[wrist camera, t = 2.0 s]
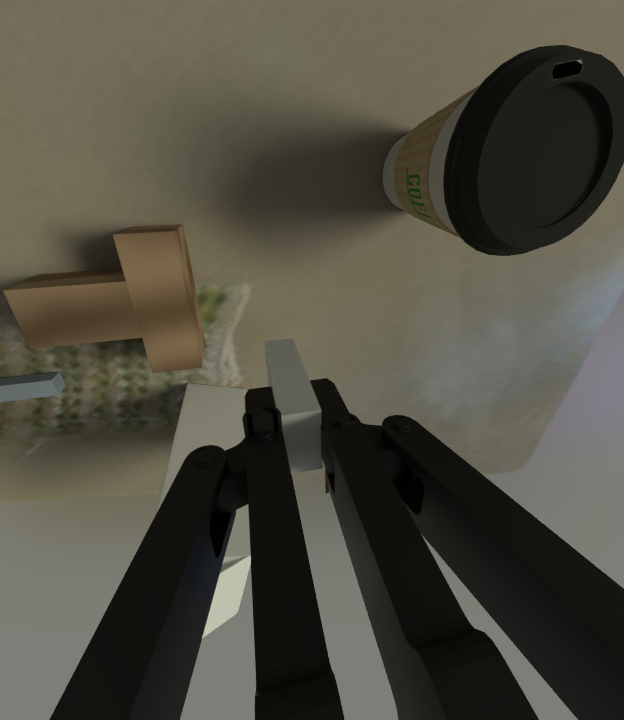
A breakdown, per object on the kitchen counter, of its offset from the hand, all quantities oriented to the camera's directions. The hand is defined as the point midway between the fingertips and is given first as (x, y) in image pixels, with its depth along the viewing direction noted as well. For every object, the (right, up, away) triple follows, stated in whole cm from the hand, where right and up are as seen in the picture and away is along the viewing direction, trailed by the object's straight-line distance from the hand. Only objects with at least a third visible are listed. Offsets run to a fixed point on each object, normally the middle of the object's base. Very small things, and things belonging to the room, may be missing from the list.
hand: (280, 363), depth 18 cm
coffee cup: (+11, +17, +12) cm, 24 cm away
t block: (-15, +6, +12) cm, 20 cm away
